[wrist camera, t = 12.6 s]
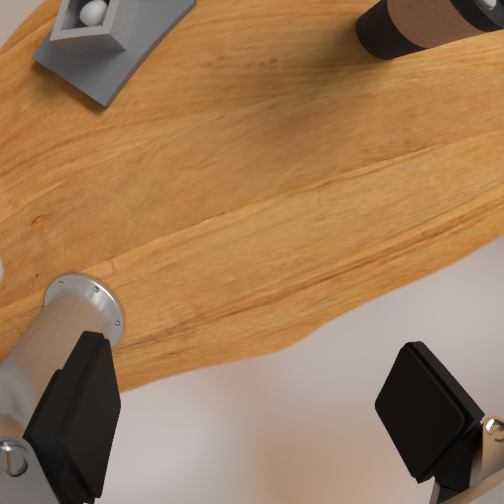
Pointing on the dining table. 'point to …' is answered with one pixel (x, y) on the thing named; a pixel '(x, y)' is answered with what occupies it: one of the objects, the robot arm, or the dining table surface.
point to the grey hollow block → (94, 27)
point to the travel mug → (425, 24)
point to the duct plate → (113, 61)
